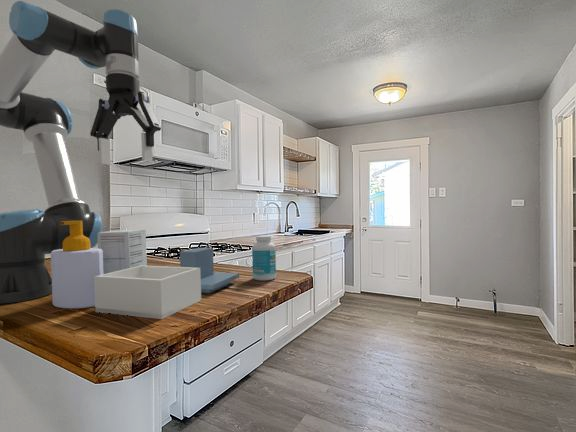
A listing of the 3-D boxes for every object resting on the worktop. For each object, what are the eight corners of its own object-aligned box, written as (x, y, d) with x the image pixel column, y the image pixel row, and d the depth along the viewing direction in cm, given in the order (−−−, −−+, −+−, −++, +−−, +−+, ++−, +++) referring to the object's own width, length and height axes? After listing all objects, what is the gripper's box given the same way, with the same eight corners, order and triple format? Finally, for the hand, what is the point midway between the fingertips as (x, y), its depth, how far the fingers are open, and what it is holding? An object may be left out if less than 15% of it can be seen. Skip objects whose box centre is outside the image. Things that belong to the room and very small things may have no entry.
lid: (153, 291, 89) (151, 252, 89) (186, 279, 103) (185, 246, 103) (212, 295, 83) (211, 254, 83) (239, 282, 97) (238, 247, 97)
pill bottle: (275, 281, 98) (274, 237, 98) (251, 281, 98) (250, 237, 98) (276, 275, 105) (275, 234, 105) (254, 276, 105) (253, 235, 105)
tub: (95, 312, 71) (94, 276, 71) (142, 295, 85) (141, 265, 84) (162, 319, 66) (160, 280, 65) (201, 300, 79) (200, 267, 79)
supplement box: (149, 284, 97) (147, 229, 97) (131, 292, 88) (129, 231, 87) (119, 284, 98) (117, 229, 98) (98, 292, 89) (96, 232, 88)
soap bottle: (41, 307, 76) (37, 221, 76) (73, 297, 84) (70, 220, 84) (85, 310, 73) (82, 221, 72) (114, 300, 81) (111, 219, 80)
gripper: (72, 79, 81) (75, 163, 82) (152, 63, 73) (155, 156, 74) (98, 89, 88) (101, 167, 89) (173, 75, 80) (176, 160, 81)
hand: (125, 162), depth 81 cm, fingers open, 13 cm apart
